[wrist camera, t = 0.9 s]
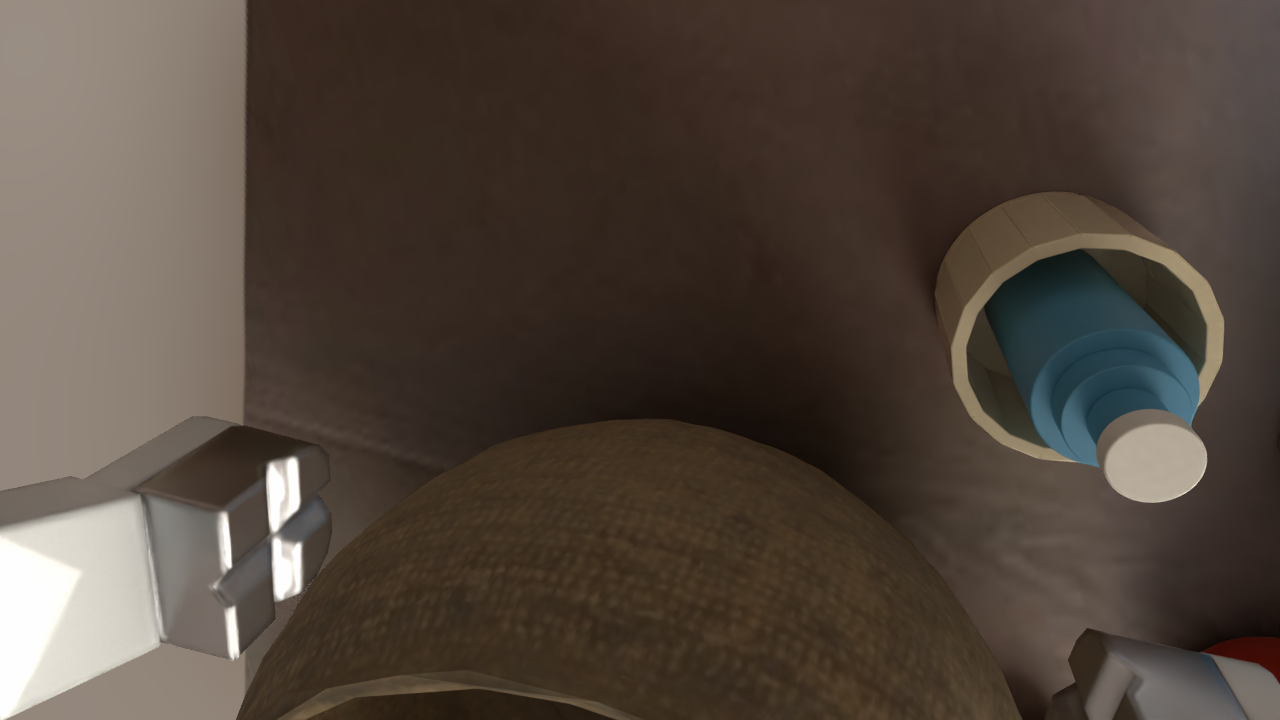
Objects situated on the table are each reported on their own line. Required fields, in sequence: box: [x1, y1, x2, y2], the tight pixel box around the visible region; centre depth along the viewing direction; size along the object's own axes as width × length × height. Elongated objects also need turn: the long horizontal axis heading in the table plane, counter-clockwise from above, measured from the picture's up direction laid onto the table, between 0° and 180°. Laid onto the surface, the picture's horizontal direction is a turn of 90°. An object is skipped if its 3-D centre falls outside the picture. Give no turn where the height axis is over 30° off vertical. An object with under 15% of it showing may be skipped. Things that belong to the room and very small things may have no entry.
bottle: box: [984, 249, 1207, 503], centre depth 32 cm, size 5×5×16 cm
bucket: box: [935, 192, 1224, 463], centre depth 37 cm, size 10×10×8 cm
